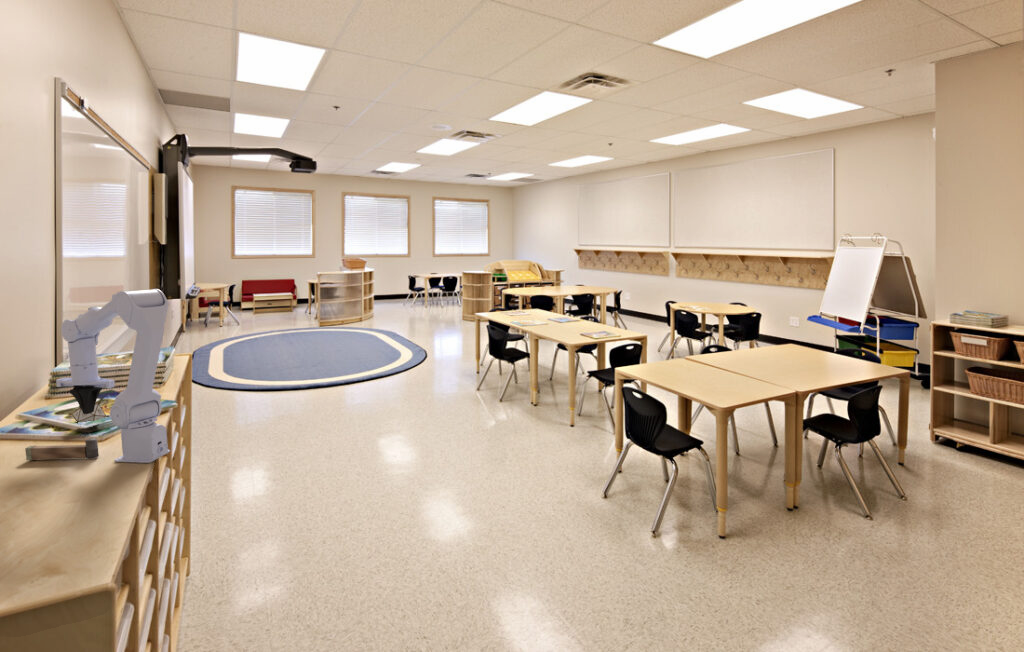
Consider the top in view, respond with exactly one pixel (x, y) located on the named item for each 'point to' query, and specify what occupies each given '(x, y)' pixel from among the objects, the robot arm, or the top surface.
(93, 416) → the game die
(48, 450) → the gate
